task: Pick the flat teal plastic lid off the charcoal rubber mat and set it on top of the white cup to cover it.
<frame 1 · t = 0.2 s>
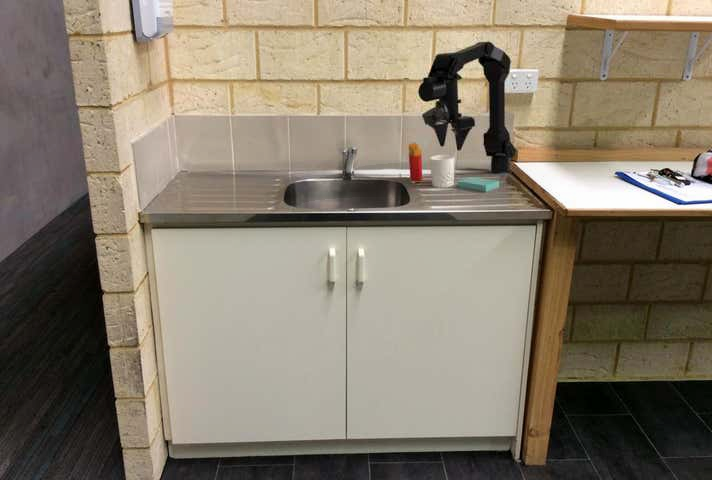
hand: (450, 148, 187), 14 cm above the countertop, tool pointing down, fingers open, 9 cm apart
mat: (478, 190, 191), on the countertop
white cup: (443, 188, 198), on the countertop
lid: (478, 187, 190), point 1 cm above the countertop, touching mat
french fries: (416, 181, 209), on the countertop
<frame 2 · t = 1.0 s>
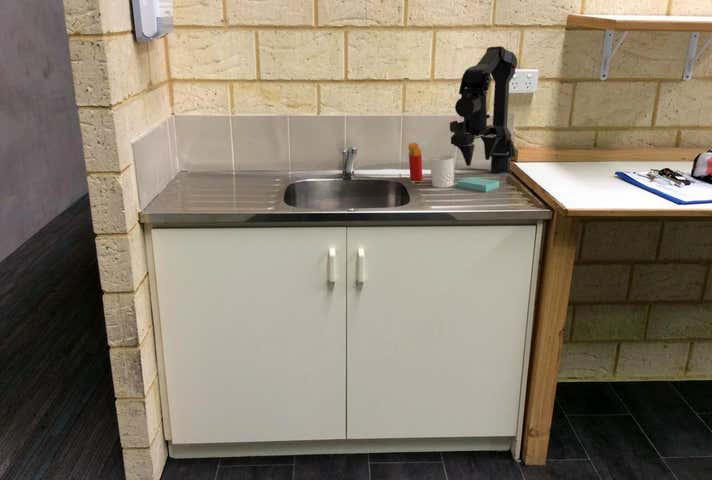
hand: (478, 162, 188), 9 cm above the countertop, tool pointing down, fingers open, 9 cm apart
nothing on the countertop moved.
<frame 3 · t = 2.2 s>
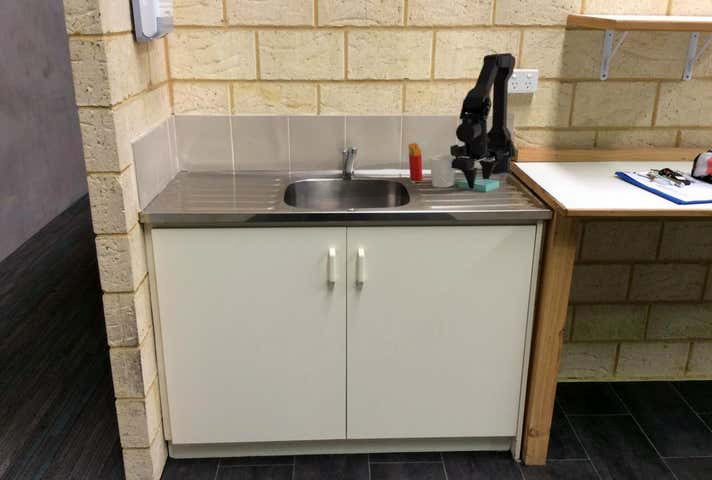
hand: (478, 185, 190), 1 cm above the countertop, tool pointing down, fingers closed on lid, 6 cm apart
lid: (478, 187, 190), point 1 cm above the countertop, touching gripper, mat
everything else where it was.
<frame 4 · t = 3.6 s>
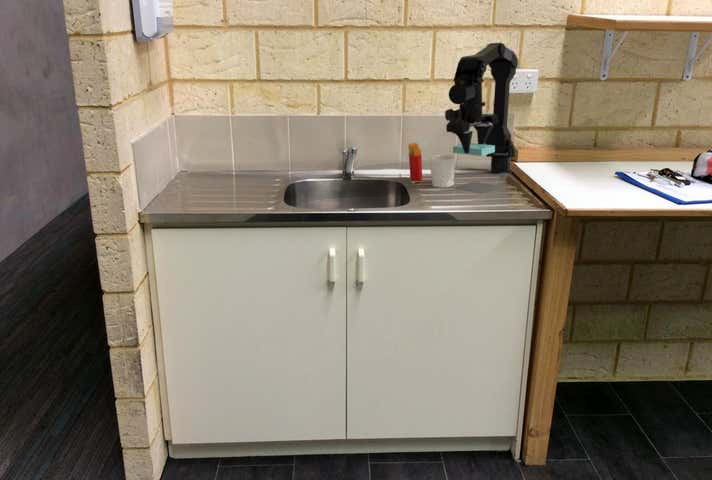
hand: (473, 151, 187), 12 cm above the countertop, tool pointing down, fingers closed on lid, 6 cm apart
lid: (473, 152, 187), point 12 cm above the countertop, touching gripper
everything else where it was.
when the fingers open (11 cm above the countertop, at t = 5.0 s): lid stays where it is, resting on white cup.
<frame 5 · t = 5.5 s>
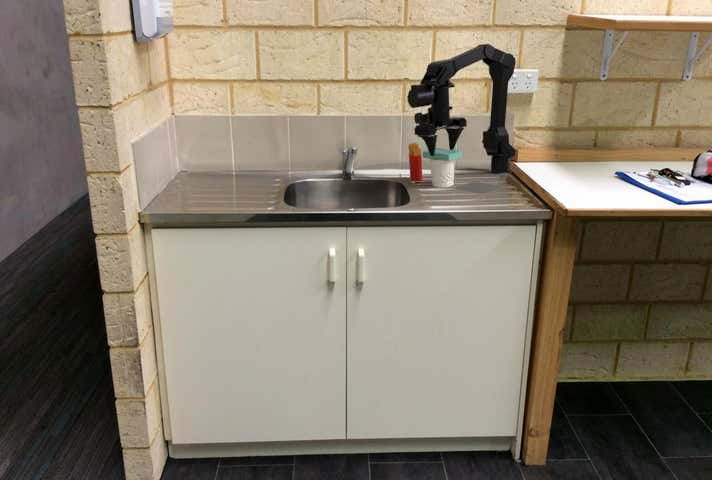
hand: (442, 153, 194), 11 cm above the countertop, tool pointing down, fingers open, 9 cm apart
white cup: (443, 188, 198), on the countertop, touching lid
lid: (442, 157, 194), point 10 cm above the countertop, touching white cup
everything else where it was.
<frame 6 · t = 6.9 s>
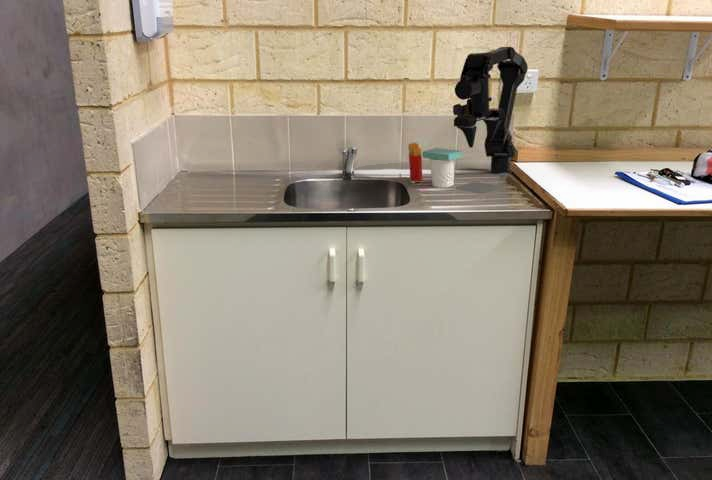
hand: (480, 144, 194), 13 cm above the countertop, tool pointing down, fingers open, 9 cm apart
nothing on the countertop moved.
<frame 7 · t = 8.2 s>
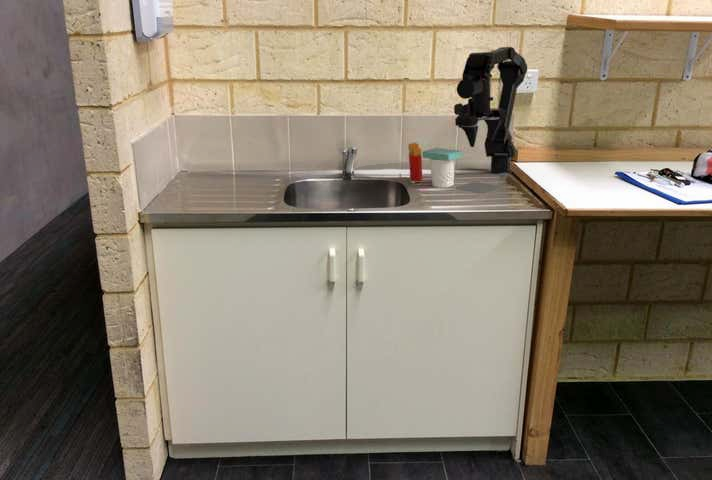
hand: (481, 144, 194), 13 cm above the countertop, tool pointing down, fingers open, 9 cm apart
nothing on the countertop moved.
at the end: lid 0.0 cm off-centre on the white cup, point 10.2 cm above the white cup's base; the gripper is holding nothing; white cup tilted 0° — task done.
